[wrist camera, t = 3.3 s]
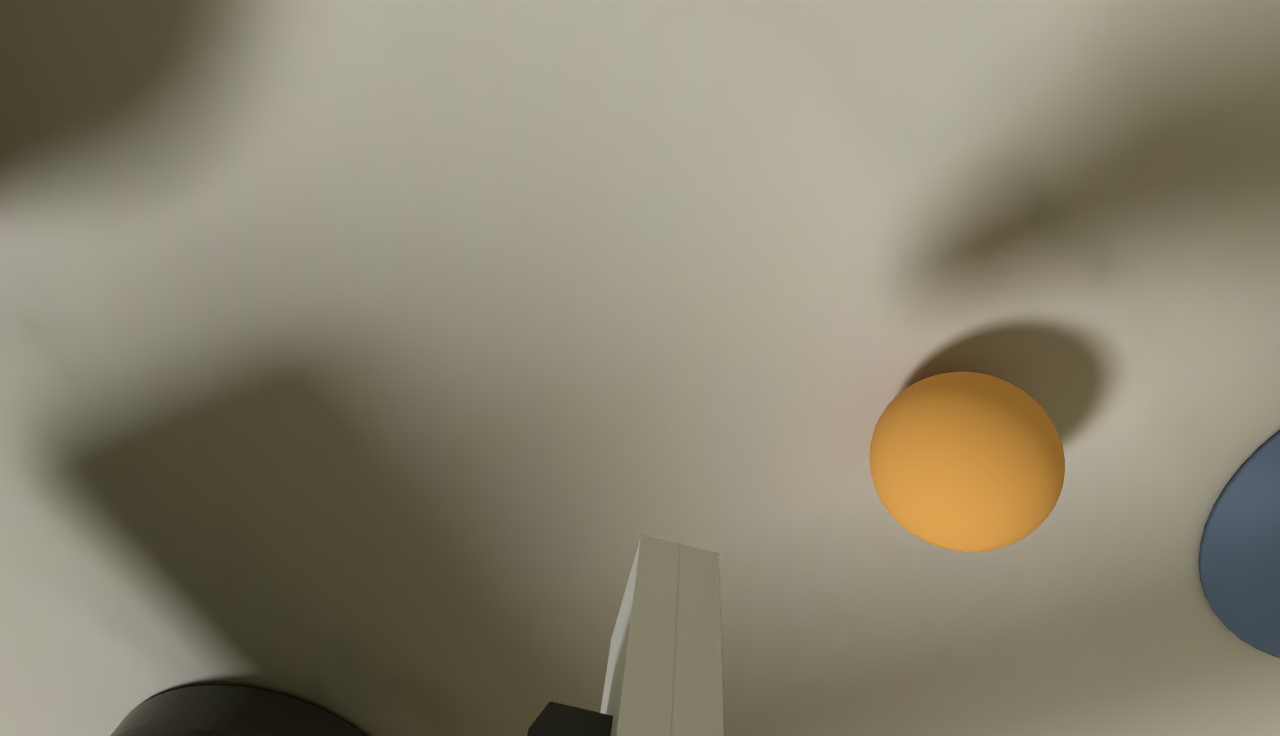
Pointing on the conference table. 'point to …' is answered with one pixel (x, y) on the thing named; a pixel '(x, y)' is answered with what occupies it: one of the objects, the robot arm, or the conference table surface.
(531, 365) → the conference table surface
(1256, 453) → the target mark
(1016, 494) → the ball
